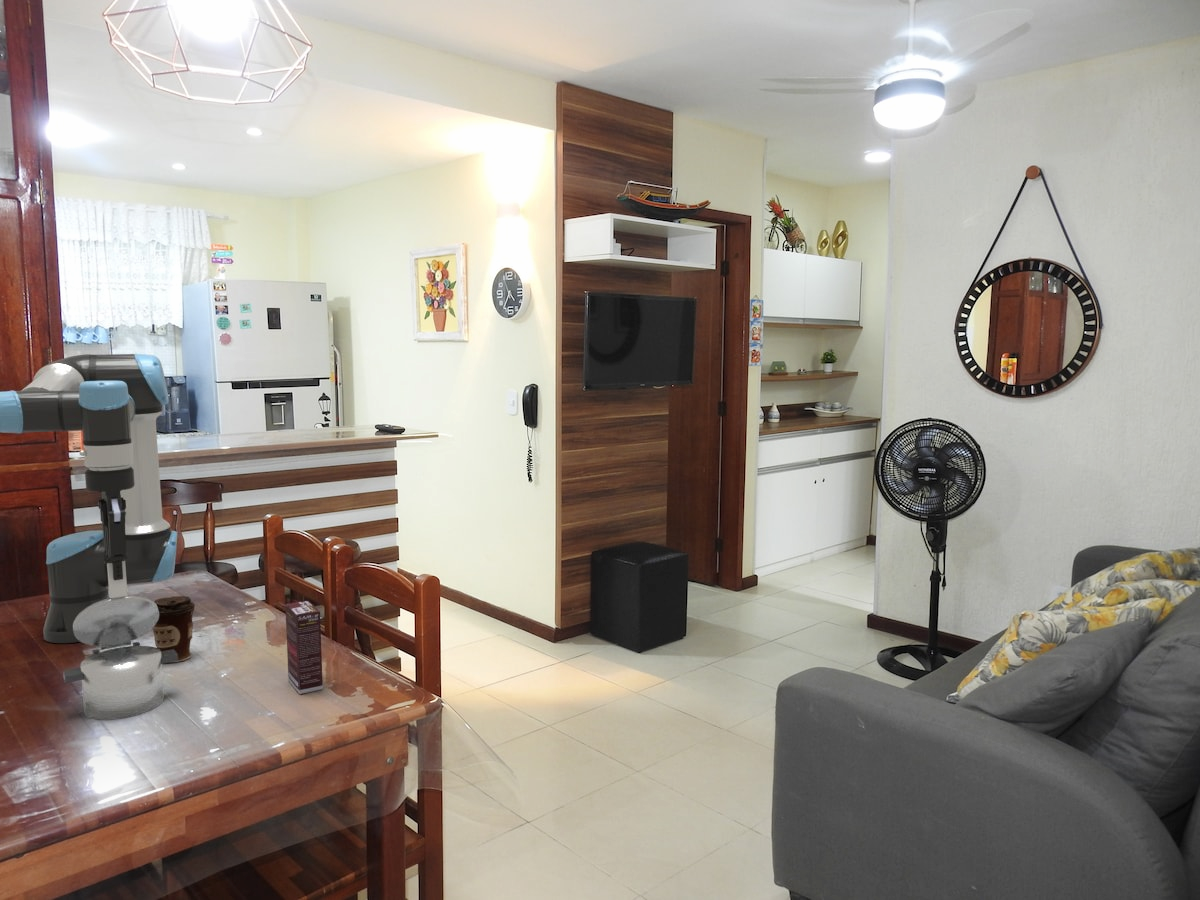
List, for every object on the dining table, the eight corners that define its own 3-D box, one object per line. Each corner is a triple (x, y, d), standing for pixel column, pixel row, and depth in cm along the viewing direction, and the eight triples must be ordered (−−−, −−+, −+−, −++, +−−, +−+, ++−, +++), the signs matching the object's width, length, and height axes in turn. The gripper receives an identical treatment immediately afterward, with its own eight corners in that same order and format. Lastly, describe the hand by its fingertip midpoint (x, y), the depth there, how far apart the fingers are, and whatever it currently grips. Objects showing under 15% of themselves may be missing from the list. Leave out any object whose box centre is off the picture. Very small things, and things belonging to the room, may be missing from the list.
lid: (73, 656, 157) (71, 641, 159) (156, 640, 166) (153, 626, 167) (73, 607, 148) (71, 592, 150) (161, 594, 157) (158, 579, 159)
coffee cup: (177, 667, 175) (173, 607, 173) (142, 664, 176) (138, 604, 175) (205, 652, 183) (201, 595, 181) (171, 650, 185) (168, 592, 183)
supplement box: (324, 689, 163) (321, 610, 162) (299, 695, 161) (295, 615, 159) (312, 675, 171) (308, 599, 169) (287, 680, 168) (283, 603, 166)
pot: (63, 702, 157) (59, 656, 156) (170, 679, 168) (167, 636, 167) (71, 730, 146) (67, 680, 145) (185, 703, 157) (182, 657, 156)
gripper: (80, 465, 152) (90, 591, 155) (89, 473, 142) (99, 608, 145) (127, 461, 157) (136, 584, 160) (138, 469, 147) (147, 600, 149)
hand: (118, 595), depth 152 cm, fingers closed
